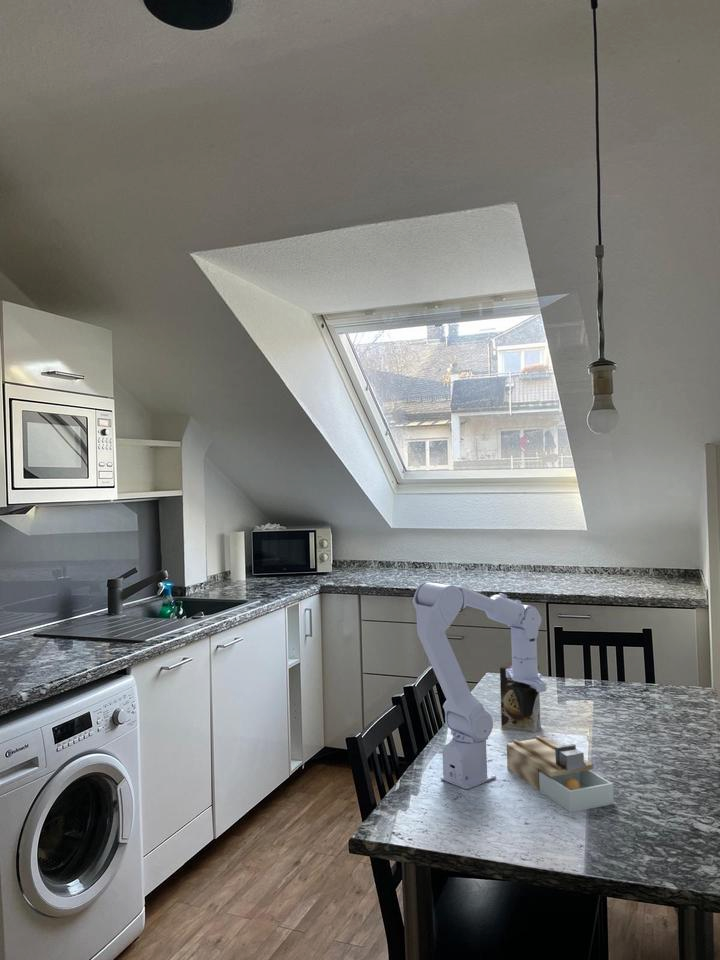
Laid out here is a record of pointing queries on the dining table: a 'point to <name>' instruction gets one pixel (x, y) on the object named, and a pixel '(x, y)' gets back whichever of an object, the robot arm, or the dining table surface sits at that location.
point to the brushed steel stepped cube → (569, 757)
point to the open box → (577, 790)
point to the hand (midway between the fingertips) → (526, 715)
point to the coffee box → (516, 706)
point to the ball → (572, 784)
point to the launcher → (536, 760)
